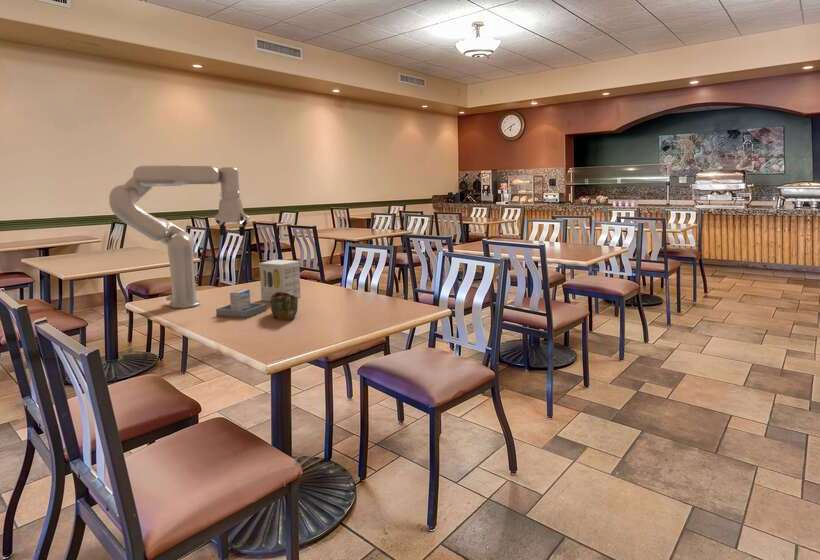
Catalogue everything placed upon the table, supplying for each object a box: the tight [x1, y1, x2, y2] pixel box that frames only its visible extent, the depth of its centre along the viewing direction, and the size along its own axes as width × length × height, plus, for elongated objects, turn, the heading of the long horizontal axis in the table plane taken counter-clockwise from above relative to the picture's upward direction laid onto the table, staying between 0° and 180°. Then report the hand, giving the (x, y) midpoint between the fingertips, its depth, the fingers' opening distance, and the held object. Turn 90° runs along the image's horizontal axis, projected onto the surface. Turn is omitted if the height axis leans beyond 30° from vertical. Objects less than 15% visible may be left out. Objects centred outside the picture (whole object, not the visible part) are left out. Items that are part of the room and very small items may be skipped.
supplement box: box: [259, 259, 301, 302], centre depth 242 cm, size 13×13×18 cm
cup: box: [269, 292, 299, 321], centre depth 208 cm, size 13×20×10 cm, turn 177°
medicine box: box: [229, 288, 252, 311], centre depth 214 cm, size 8×4×9 cm, turn 166°
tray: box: [215, 302, 267, 320], centre depth 214 cm, size 14×14×3 cm
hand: (232, 235), depth 230 cm, fingers open, 9 cm apart
